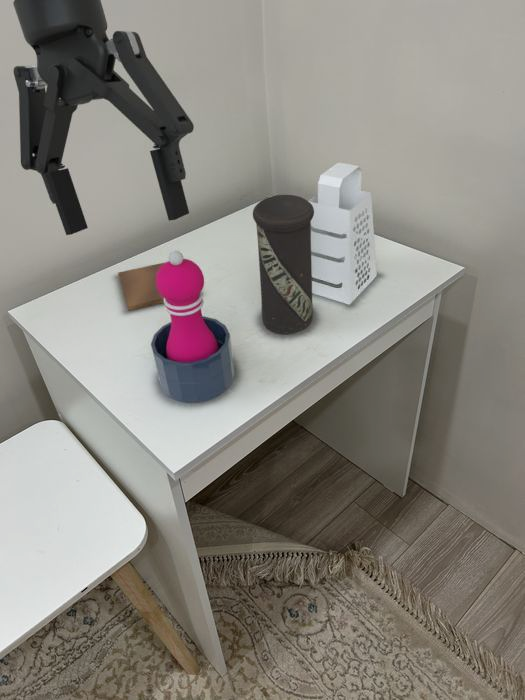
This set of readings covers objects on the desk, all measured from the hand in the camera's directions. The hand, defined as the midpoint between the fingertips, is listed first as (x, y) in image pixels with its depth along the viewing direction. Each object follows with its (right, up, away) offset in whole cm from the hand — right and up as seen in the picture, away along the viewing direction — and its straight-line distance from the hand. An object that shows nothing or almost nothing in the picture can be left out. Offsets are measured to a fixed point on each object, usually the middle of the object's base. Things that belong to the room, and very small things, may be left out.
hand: (125, 225), depth 57 cm
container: (+18, -8, +31) cm, 37 cm away
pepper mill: (+5, -17, +22) cm, 28 cm away
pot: (+5, -17, +22) cm, 28 cm away
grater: (+27, -1, +39) cm, 48 cm away
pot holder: (-5, -1, +42) cm, 42 cm away
